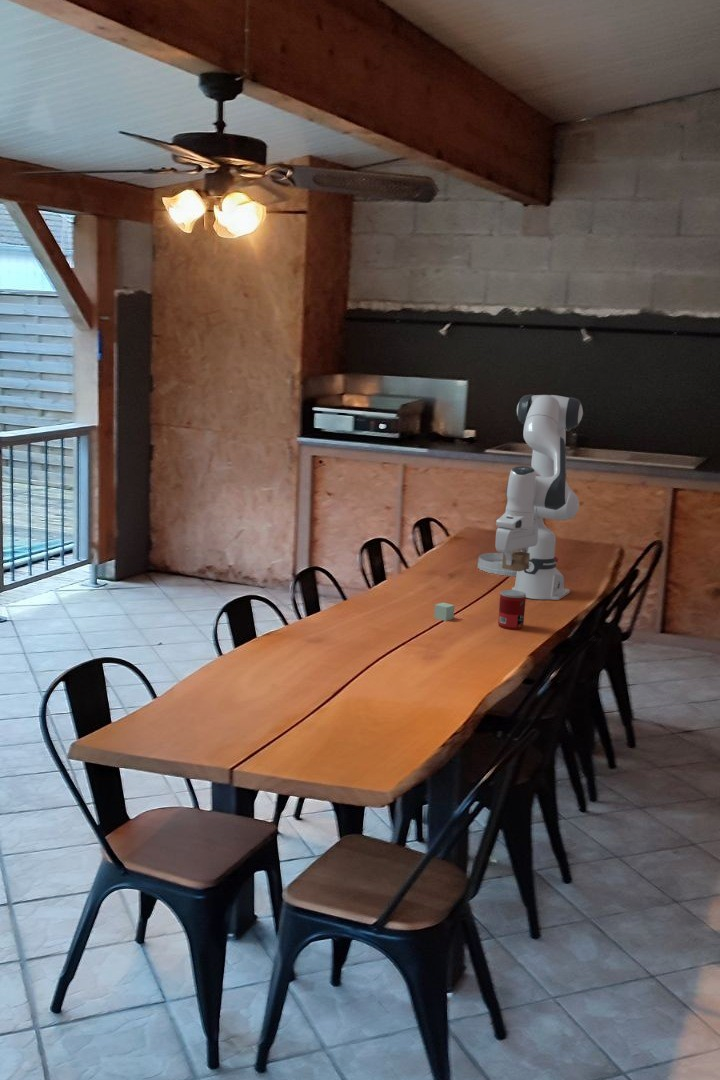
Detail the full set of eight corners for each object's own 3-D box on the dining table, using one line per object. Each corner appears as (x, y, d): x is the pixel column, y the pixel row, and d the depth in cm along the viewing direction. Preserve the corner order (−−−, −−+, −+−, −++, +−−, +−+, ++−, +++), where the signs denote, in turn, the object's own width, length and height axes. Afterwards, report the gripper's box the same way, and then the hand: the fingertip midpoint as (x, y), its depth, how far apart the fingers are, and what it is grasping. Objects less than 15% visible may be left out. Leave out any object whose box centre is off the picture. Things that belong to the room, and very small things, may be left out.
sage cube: (441, 615, 345) (442, 602, 344) (453, 618, 342) (454, 605, 341) (434, 618, 341) (435, 604, 341) (445, 621, 339) (446, 607, 338)
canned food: (522, 631, 331) (525, 596, 329) (496, 628, 333) (499, 594, 331) (523, 624, 339) (526, 591, 337) (498, 622, 340) (501, 588, 338)
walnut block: (511, 565, 336) (513, 550, 335) (528, 568, 333) (529, 553, 332) (502, 568, 332) (503, 552, 331) (518, 571, 328) (520, 555, 327)
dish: (475, 574, 410) (476, 561, 409) (478, 562, 431) (479, 550, 430) (533, 579, 406) (534, 566, 405) (534, 567, 428) (535, 555, 427)
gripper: (527, 514, 339) (523, 557, 342) (493, 521, 323) (489, 565, 326) (544, 517, 335) (540, 560, 338) (511, 524, 320) (507, 569, 322)
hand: (515, 563), depth 332 cm, fingers closed on walnut block, 6 cm apart
